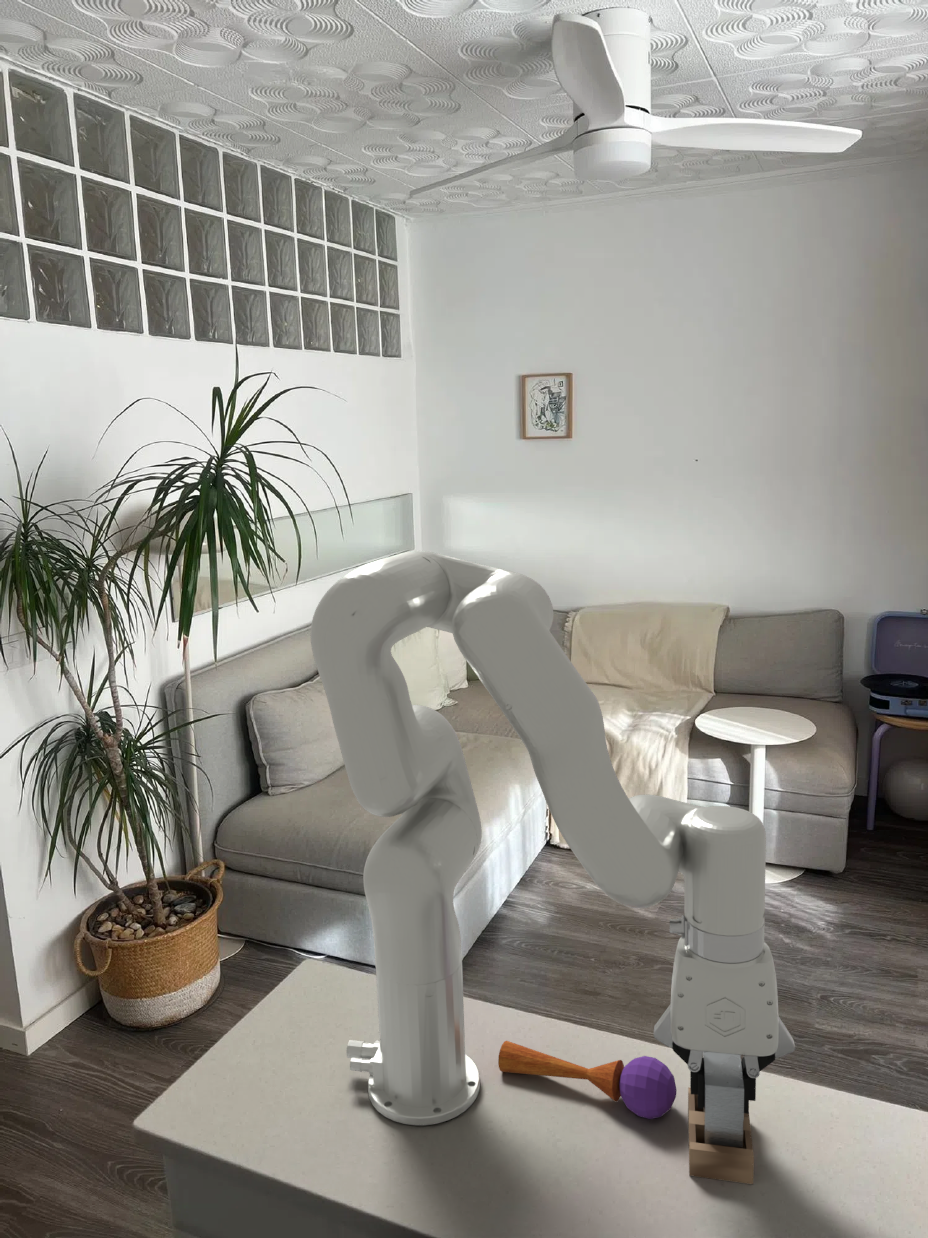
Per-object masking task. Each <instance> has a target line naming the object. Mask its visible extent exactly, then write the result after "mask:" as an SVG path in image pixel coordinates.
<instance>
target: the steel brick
mask: <svg viewBox="0 0 928 1238" xmlns="http://www.w3.org/2000/svg"><path fill="white" fill-rule="evenodd" d="M741 1056H742V1055H735V1054H724V1053H714V1052H704V1051H703V1058H704V1072H705V1107H703V1112H705V1113H704V1136H705V1144H714V1145H722V1146H731V1147H739V1148H743V1121H744V1083H743V1074H742V1065H741V1061H742V1057H741Z"/></svg>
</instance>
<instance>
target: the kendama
mask: <svg viewBox="0 0 928 1238" xmlns="http://www.w3.org/2000/svg"><path fill="white" fill-rule="evenodd" d="M498 1052H499V1053H498V1060H497V1061H498V1069H499V1071H500V1072H501V1073H511V1074H519V1075H521V1074H524V1075H531V1076H532V1075H533V1076H543V1077H545V1076H546V1077H552V1078H553V1077H555V1078H556V1077H557V1078H563V1079H564V1078H566V1079H567V1078H568V1079H577V1080H587V1081H589V1082H590V1083H591V1084H592V1085H593V1086H594V1087H597V1088H598V1089H599V1090H600V1091H601V1092H603V1093H604V1094H605V1095H607V1096H608V1097H609V1098H610V1099H611V1100H612V1101H614V1102H616V1103H617V1102H619V1101H620V1099H622V1101H623V1103H624V1104H625V1106H626V1108H627V1109H628V1110H630V1111H631V1112H632V1113H634V1114H635V1115H637V1117H640V1118H645V1119H647V1120H653V1119H657V1118H661V1117H662V1116H663V1115H665V1114H666V1113H667V1112H669V1111H670V1110H671V1109H672V1107H673V1105H674V1102H675V1100H676V1098H677V1085H676V1081H675V1077H674V1074H673V1073H672V1071H671V1069H670V1068H669V1067H668V1065H666V1064H665V1063H663V1062H662V1061H661V1060H659V1059H658V1058H657V1057H651V1056H647V1055H643V1056H639V1057H635V1058H633V1059H632V1060H630V1061H629V1062H628V1063H627V1064H626V1065H624V1062H623V1060H622V1059H619V1060H618V1059H617V1060H615V1061H610V1062H608V1063H604V1064H601V1065H598V1066H594V1067H590V1068H587V1067H585V1066H582V1065H579V1064H576V1063H572V1062H570V1061H567V1060H564V1059H561V1058H558V1057H555V1056H552V1055H549V1054H546V1053H544V1052H542V1051H538V1050H535V1049H532V1048H529V1047H526V1046H523V1045H520V1044H518V1043H514V1042H511V1041H509V1040H505V1041H503V1043H502V1044H501V1046H500V1049H499V1051H498Z"/></svg>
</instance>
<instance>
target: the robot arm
mask: <svg viewBox="0 0 928 1238" xmlns="http://www.w3.org/2000/svg"><path fill="white" fill-rule="evenodd" d="M553 622H554V608H553V603H552V601H551V598H550V596H549V594H548V593H547V591H546V590H545V588H544V587H543V586H542V585H541V584H540V583H538V582H537V581H536V580H535V579H533V578H531V577H529V576H527V575H525V574H522V573H518V572H515V571H511V570H507V569H505V568H503V569H502V568H499V567H494V566H491V565H486V564H481V563H477V562H473V561H470V560H465V559H462V558H458V557H454V556H449V555H446V554H442V553H437V552H433V551H427V550H425V551H424V550H413V551H412V550H411V551H405V552H402V553H398V554H395V555H391V556H389V557H388V556H387V557H384V558H380V559H377V560H374V561H371V562H368V563H365V564H362V565H360V566H359V567H357V568H355V569H353V570H351V571H350V572H348V573H347V574H345V575H343V576H341V578H340V579H338V580H337V581H336V582H335V583H334V584H332V586H331V587H329V588H328V589H327V591H325V594H324V595H323V596H322V597H321V599H320V601H319V602H318V605H317V607H316V608H315V611H314V613H313V617H312V620H311V625H310V647H311V651H312V656H313V659H314V663H315V666H316V669H317V673H318V675H319V678H320V681H321V683H322V686H323V690H324V692H325V695H326V699H327V703H328V706H329V710H330V715H331V720H332V724H333V728H334V732H335V735H336V738H337V741H338V745H339V749H340V754H341V757H342V760H343V764H344V767H345V772H346V775H347V777H348V783H349V785H350V788H351V791H352V793H353V795H354V798H355V799H356V802H358V804H359V805H360V806H361V808H363V809H364V811H366V812H368V813H369V814H371V815H373V816H376V817H380V818H391V817H395V816H399V815H401V816H400V817H398V818H397V819H395V821H393V823H392V824H391V825H390V826H389V827H388V828H387V829H386V830H385V831H384V832H383V833H382V834H381V835H380V836H379V837H378V838H377V839H376V841H375V843H374V844H373V846H372V847H371V849H370V851H369V853H368V855H367V857H366V859H365V864H364V867H363V875H362V876H363V880H362V881H363V889H364V890H363V891H364V894H365V899H366V904H367V908H368V911H369V917H370V921H371V928H372V935H373V949H374V966H375V973H376V975H375V978H376V994H377V995H376V996H377V1010H378V1011H377V1012H378V1015H377V1016H378V1033H379V1040H378V1039H376V1040H375V1041H374V1042H366V1041H365V1040H364V1041H363V1040H356V1039H349V1040H348V1043H347V1045H346V1050H345V1051H346V1053H345V1055H346V1058H349V1059H350V1062H349V1071H353V1072H364V1073H365V1072H368V1073H369V1077H368V1080H367V1091H368V1092H367V1093H368V1098H369V1100H370V1102H371V1105H372V1106H373V1107H374V1108H375V1110H376V1111H377V1112H378V1113H380V1114H381V1115H382V1116H383V1117H385V1118H387V1119H389V1120H391V1121H393V1122H397V1123H400V1124H404V1125H409V1126H429V1125H436V1124H441V1123H443V1122H446V1121H450V1120H451V1119H454V1118H456V1117H458V1116H460V1115H461V1114H463V1113H464V1112H466V1111H467V1110H468V1109H469V1108H470V1107H471V1106H472V1105H473V1104H474V1102H475V1100H476V1099H477V1098H478V1095H479V1092H480V1088H481V1087H480V1086H481V1085H480V1084H481V1080H480V1071H479V1068H478V1066H477V1065H476V1063H475V1062H474V1059H472V1058H471V1057H470V1056H468V1054H466V1041H465V1040H466V1038H465V1037H466V1035H465V1034H466V1033H465V1011H464V1009H465V1008H464V1005H465V1004H464V982H463V981H464V980H463V978H464V976H463V975H464V974H463V958H462V955H463V954H462V939H461V930H460V924H459V920H458V917H457V914H456V909H455V906H454V894H455V889H456V887H457V884H458V883H459V882H460V880H461V879H462V877H463V876H464V874H465V872H466V870H467V869H468V868H469V867H470V865H471V864H472V863H473V861H474V860H475V858H476V856H477V855H478V852H479V850H480V848H481V847H480V846H481V843H482V834H483V833H482V832H483V831H482V822H481V817H480V813H479V808H478V804H477V800H476V798H475V794H474V793H475V792H474V789H473V785H472V781H471V779H470V778H471V777H470V774H469V771H468V767H467V763H466V759H465V756H464V755H465V754H464V752H463V749H462V748H463V747H462V745H461V741H460V739H459V737H458V735H457V731H455V729H454V727H453V726H452V724H451V722H449V721H448V719H447V718H446V717H445V716H444V715H443V714H442V713H440V712H439V711H437V710H436V709H434V708H431V707H428V706H427V705H420V704H412V701H411V697H410V692H409V688H408V685H407V680H406V678H405V676H404V674H403V671H402V669H401V668H400V666H399V664H398V663H397V661H396V660H395V658H394V656H393V655H392V648H393V647H394V646H395V644H397V643H398V642H399V641H401V640H404V639H406V638H408V637H410V636H411V635H413V634H417V632H420V631H421V630H423V629H426V628H428V629H429V628H430V629H434V630H439V631H442V632H447V633H450V634H452V636H453V639H454V643H455V644H456V646H457V647H458V650H459V652H460V654H461V655H462V657H463V658H464V659H465V661H466V662H467V664H468V665H469V666H470V668H471V669H472V671H473V672H474V673H475V675H476V677H477V678H478V679H479V681H480V682H481V684H482V685H483V686H484V688H485V689H486V691H487V692H488V693H489V695H490V696H491V697H492V699H493V701H494V702H495V704H496V705H497V706H498V707H499V709H500V711H501V712H502V713H503V715H504V717H505V719H507V721H508V722H509V725H511V727H512V728H513V730H514V731H515V732H516V734H517V736H518V737H519V739H520V740H521V742H522V743H523V744H524V745H523V746H524V747H525V748H526V750H527V753H528V754H529V757H530V761H531V765H532V768H533V771H534V773H535V775H534V776H535V777H536V779H537V782H538V784H539V787H540V789H541V791H542V795H543V797H544V799H545V802H546V804H547V808H548V810H549V813H550V814H551V817H552V819H553V822H554V823H555V825H556V827H557V829H558V831H559V832H560V834H561V835H562V838H563V839H564V841H565V843H566V844H567V846H568V847H569V848H570V850H571V852H572V853H573V854H574V856H575V857H576V859H577V860H578V861H579V863H580V864H581V866H582V868H584V870H585V872H586V873H587V875H588V876H589V877H590V878H591V880H592V881H593V883H594V884H595V885H596V886H597V887H598V888H599V889H600V890H601V891H602V892H603V893H604V894H605V895H606V896H607V897H608V898H610V899H611V900H613V901H614V902H616V903H617V904H620V905H622V906H624V907H627V908H632V909H646V908H651V907H653V906H656V905H658V904H659V903H661V902H662V901H664V900H665V899H666V898H667V897H668V895H670V894H671V891H673V889H674V886H675V884H676V881H677V877H678V875H679V872H680V873H681V874H682V875H683V879H684V880H683V881H684V886H683V887H684V888H683V889H684V894H683V895H684V896H683V897H684V898H683V899H684V908H683V909H684V915H683V914H682V915H680V916H681V917H677V918H676V919H675V918H673V919H672V918H669V933H670V934H676V935H677V936H681V937H679V940H678V941H677V945H676V949H675V954H674V959H673V968H672V976H671V986H670V987H671V990H670V1004H669V1005H668V1007H667V1008H666V1010H665V1011H664V1012H663V1014H662V1015H661V1016H660V1017H659V1019H658V1020H657V1022H656V1023H655V1024H654V1026H653V1038H654V1039H655V1040H656V1041H658V1042H660V1043H661V1044H663V1045H665V1047H668V1048H671V1049H672V1051H673V1053H675V1054H676V1055H677V1056H678V1057H679V1058H680V1059H681V1060H682V1061H683V1062H684V1063H685V1064H686V1065H687V1068H688V1070H689V1072H690V1074H689V1077H690V1078H689V1079H690V1083H689V1084H690V1085H689V1086H690V1090H691V1094H694V1095H697V1097H698V1108H700V1109H703V1107H705V1072H704V1058H703V1051H704V1052H714V1053H724V1054H735V1055H740V1056H743V1057H741V1065H742V1074H743V1083H744V1113H745V1114H749V1115H750V1110H749V1108H750V1101H751V1102H756V1098H757V1097H756V1095H757V1094H756V1093H757V1088H756V1087H757V1078H759V1076H760V1075H761V1074H760V1073H761V1071H763V1070H764V1069H765V1068H767V1067H768V1066H769V1065H770V1064H772V1063H773V1062H775V1060H776V1059H777V1058H779V1059H780V1058H782V1057H784V1056H787V1055H789V1054H791V1053H794V1052H795V1050H796V1044H795V1041H794V1038H793V1036H792V1034H791V1033H790V1031H789V1029H787V1026H786V1025H785V1023H783V1021H782V1020H781V1017H780V1016H779V997H778V995H779V994H778V983H777V974H776V967H775V963H774V957H773V953H772V951H771V948H770V946H769V945H768V943H766V941H765V923H766V922H765V916H766V915H765V913H766V909H765V908H766V863H767V862H766V857H767V856H766V855H767V854H766V853H767V848H766V847H767V836H766V835H767V834H766V828H765V826H764V823H763V822H762V820H761V819H760V818H759V816H757V815H756V814H754V813H753V812H751V811H749V810H746V809H744V808H739V807H735V806H729V805H728V806H727V805H713V806H701V805H697V804H692V803H688V802H684V801H681V800H676V799H673V798H669V797H666V796H665V797H664V796H661V795H655V794H637V795H632V796H629V797H628V795H627V793H626V792H625V790H624V788H623V787H622V784H621V782H620V779H618V776H617V773H616V771H615V769H614V766H613V764H612V760H611V757H610V752H609V750H608V744H607V737H606V731H605V722H604V716H603V712H602V709H601V706H600V702H599V700H598V699H597V697H596V694H595V693H594V692H593V690H592V689H591V688H590V687H589V685H588V683H586V680H585V679H584V678H583V676H582V675H581V674H580V672H579V671H578V670H577V668H576V667H575V666H574V664H573V662H572V661H571V660H570V658H569V657H568V655H567V654H566V652H565V651H564V650H563V648H562V647H561V645H560V644H559V643H558V641H557V640H556V638H555V636H554V635H553V633H551V628H552V625H553Z"/></svg>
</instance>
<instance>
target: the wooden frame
mask: <svg viewBox="0 0 928 1238" xmlns="http://www.w3.org/2000/svg"><path fill="white" fill-rule="evenodd" d="M687 1093H688V1094H687V1098H688V1099H687V1124H688V1125H687V1127H688V1130H687V1131H688V1135H687V1136H688V1167H689V1168H688V1170H689V1171H688V1173H689V1176H690V1177H696V1178H703V1179H705V1178H706V1179H713V1180H717V1181H718V1180H719V1181H727V1182H734V1183H742V1184H749V1185H753V1184H754V1170H755V1169H754V1166H755V1163H754V1162H755V1155H754V1147H753V1136H752V1128H751V1120H750V1113H749V1114H745V1113H744V1121H743V1148H739V1147H731V1146H722V1145H714V1144H705V1136H704V1113H705V1112H703V1109H700V1108H698V1097H697V1095H694V1094H691V1090H690V1087H688V1088H687Z"/></svg>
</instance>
